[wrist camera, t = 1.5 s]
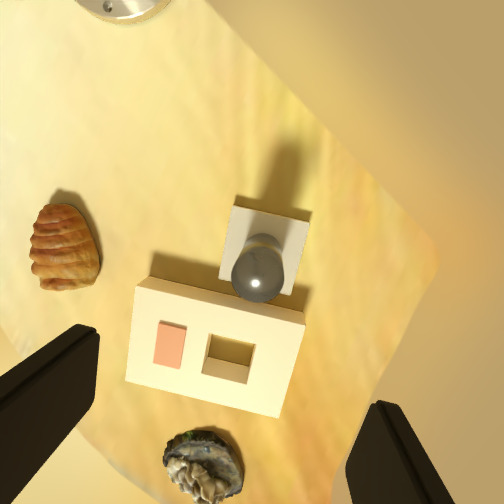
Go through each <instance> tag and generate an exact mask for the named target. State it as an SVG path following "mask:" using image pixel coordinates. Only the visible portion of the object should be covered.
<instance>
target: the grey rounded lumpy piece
mask: <svg viewBox="0 0 504 504" xmlns="http://www.w3.org/2000/svg"><path fill="white" fill-rule="evenodd" d="M163 464H164V466H165V467H167V472H168V475H169V476H170V478H171V479H172V482H173V483H179V488H180V490H181V491H182V492H187V493H191V494H192V497H193V502H194V503H195V504H219V502H222V501H223V499H224V498H228V497H230V496H231V497H232V496H233V495H234V494H238V493H240V492H241V491H242V487H243V479H244V478H243V471H242V468H241V465H240V462H239V460H238V458H237V456H236V454H235V452H234V450H233V448H232V446H231V445H230V444H229V443H228V442H227V441H226V440H225V439H223V438H222V437H220V436H219V435H217V434H216V433H214V432H211V431H197V430H194V431H188V432H186V433H185V434H182V435H178V436H175V438H174V439H173V440H171V441H168V442H167V448H165V451H164V456H163Z"/></svg>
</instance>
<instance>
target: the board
mask: <svg viewBox="0 0 504 504" xmlns="http://www.w3.org/2000/svg"><path fill="white" fill-rule="evenodd" d="M305 327H306V324H305V319H304V315H303V312H300V311H296V310H291V309H287V308H283V307H279V306H274V305H270V304H266V303H255V302H250V301H247V300H245V299H243V298H240V297H236V296H232V295H227V294H223V293H219V292H215V291H210V290H206V289H202V288H197V287H193V286H189V285H185V284H180V283H176V282H172V281H168V280H163V279H159V278H155V277H151V276H148V277H147V278H146V279H144V280H143V281H141V282H140V283H139V284H137V285H136V287H135V297H134V306H133V315H132V324H131V334H130V343H129V352H128V361H127V371H126V380H125V381H128V382H132V383H136V384H140V385H144V386H148V387H152V388H156V389H161V390H165V391H169V392H173V393H177V394H181V395H185V396H189V397H193V398H197V399H201V400H205V401H209V402H213V403H217V404H221V405H226V406H230V407H234V408H238V409H242V410H246V411H250V412H254V413H258V414H262V415H266V416H270V417H274V418H279V415H280V411H281V408H282V404H283V401H284V398H285V394H286V391H287V388H288V384H289V381H290V378H291V374H292V371H293V368H294V364H295V361H296V358H297V354H298V351H299V348H300V344H301V341H302V338H303V334H304V331H305ZM212 334H215V335H220V336H224V337H228V338H232V339H236V340H241V341H245V342H249V343H253V344H255V345H254V349H253V353H252V357H251V361H250V365H249V367H248V366H244V365H240V364H236V363H231V362H227V361H223V360H219V359H215V358H211V357H208V352H209V347H210V342H211V337H212Z"/></svg>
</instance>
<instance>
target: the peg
mask: <svg viewBox="0 0 504 504" xmlns="http://www.w3.org/2000/svg"><path fill="white" fill-rule="evenodd" d="M231 282H232V285H233V288H234V289H235V291H236V292H237V294H238V295H239V296H241V297H242V298H243V299H245V300H247V301H250V302H255V303H262V302H267V301H269V300H271V299H273V298H275V297H276V296H277V295H278V294H279V293H280V291H281V289H282V287H283V285H284V268H283V259H282V250H281V246H280V244H279V242H278V240H277V239H276V238H274V237H273V236H272V235H269V234H266V233H259V234H255V235H253V236H251V237H250V238H249V239H248V240H247V241H246V243H245V245H244V247H243V249H242V250H241V252H240V254H239V256H238V258H237V260H236V262H235V264H234V266H233V268H232V272H231Z"/></svg>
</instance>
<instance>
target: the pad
mask: <svg viewBox="0 0 504 504" xmlns="http://www.w3.org/2000/svg"><path fill="white" fill-rule="evenodd" d="M309 226H310V222H307V221H303V220H298V219H294V218H289V217H285V216H280V215H276V214H271V213H267V212H263V211H258V210H254V209H249V208H245V207H240V206H236V205H233V206H232V209H231V214H230V220H229V225H228V230H227V235H226V240H225V246H224V251H223V256H222V261H221V266H220V271H219V277H218V279H221V280H225V281H230V282H231V272H232V268H233V266H234V264H235V262H236V260H237V258H238V256H239V254H240V252H241V250H242V249H243V247H244V245H245V243H246V241H247V240H248V239H249V238H250V237H251V236H253V235H255V234H259V233H266V234H269V235H272V236H273V237H274V238H276V239H277V240H278V242H279V244H280V246H281V250H282V259H283V268H284V285H283V287H282V289H281V291H280V293H281V294H285V295H290V296H291V292H292V288H293V285H294V281H295V277H296V274H297V270H298V266H299V263H300V259H301V255H302V252H303V248H304V244H305V241H306V237H307V233H308V230H309Z"/></svg>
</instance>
